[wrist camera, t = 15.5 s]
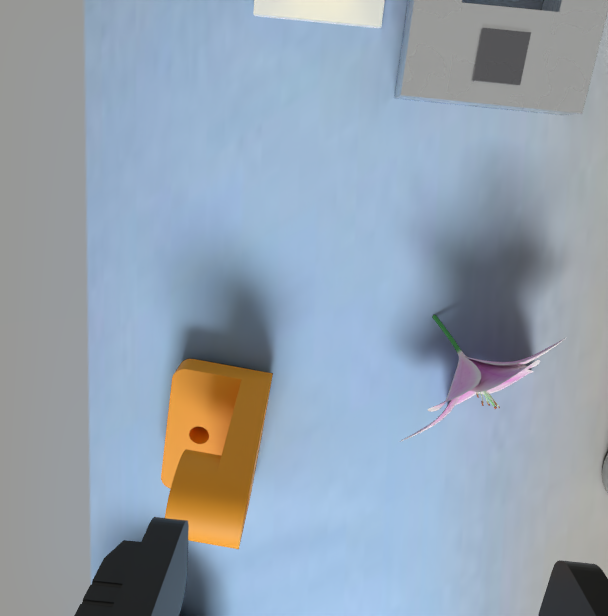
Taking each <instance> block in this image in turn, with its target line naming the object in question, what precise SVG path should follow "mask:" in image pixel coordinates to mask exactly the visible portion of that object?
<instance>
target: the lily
mask: <svg viewBox="0 0 608 616" xmlns="http://www.w3.org/2000/svg"><path fill="white" fill-rule="evenodd" d="M433 319H434V320H435V321H436V323H437V324H438V325H439V327H440V328H441V329H442V331H443V332H444V333H445V335H446V336H447V337H448V339H449V340H450V342H451V343H452V345H453V346H454V348H455V350H456V351H457V353H458V355H459V362H458V366H457V369H456V372H455V375H454V378H453V381H452V384H451V387H450V390H449V393H448V396H447V398H446V401H444V402H443V403H441V404H439V405H436V406H434V407H432V408H430V409H428V411H437V410H439V409H440V408H441V407H442V406H443V405H444V404H445V403H446V402H447V401H449V404H448V406H447V407H446V409H445V410H444V411H443V413H442V414H441V415H440V416H439V417H438V418H437V419H436V420H434V421H433V422H432V423H430V424H429V425H428V426H426V427H424V428H423V429H421V430H419V431H418V432H416V433H414V434H412V435H410V436H409V437H407V438H405V439H408V438H410V437H412V436H414V435H416V434H419V433H421V432H423V431H424V430H426V429H428V428H430V427H432V426H434V425H435V424H436V423H438V422H439V421H441V420H442V419H443V418H444V417H445V416H446V415H447V414H448V413H449V412H451V410H452V409H453V407H454V406H455V405H457V404H459V403H461V402H463V401H465V400H467V399H469V398H470V397H472V396H474V395H475V394H477V393H478V394H477V397H478V395H479V394H481V397H482V394H484V396H485V395H486V396H487V397H488V399H489V400H490V402H491V403H492V405H493V406H494V408H495V409H496V408H497V407H496V406H498V404H497V403H496V402H495V401H494V399H493V398H492V397H491V395H490V394H489V393H494V392H496V391H499V390H502V389H504V388H505V387H507V386H509V385H511V384H513V383H514V382H516V381H518V380H519V379H521V378H522V377H524V376H525V375H527V374H529V373H532V372H534V371H531V370H528V369H529V368H532V367H535V366H537V365H538V364H539V363H540V360H537V361H535V362H534V363H532V364H530V365H529V366H525V365H524V364H527V363H529V362H530V361H532V360H534V359H536V358H538V357H539V356H541V355H543V354H544V353H546V352H548V351H549V350H551V349H552V348H554V347H555V346H557V345H558V344H559V343H561V342H562V341H563V340H564V339H563V340H561V341H559V342H557V343H556V344H554V345H552V346H550V347H548V348H546V349H545V350H543V351H541V352H539V353H537V354H535V355H532V356H530V357H527V358H525V359H521V360H517V361H512V362H494V361H485V360H479V359H474V358H469V357H467V356H465V355H464V354H463V352H462V351H461V349H460V348H459V346H458V345H457V343H456V342H455V340H454V339H453V337H452V336H451V334H450V333H449V332H448V330H447V329H446V328H445V326H444V325H443V324H442V323H441V321H440V320H439V319H438V317H437V316H436V315H433ZM566 338H567V337H566ZM488 395H489V396H488ZM486 396H485V398H486ZM478 398H479V397H478ZM490 398H491V399H490ZM486 400H487V398H486ZM492 401H493V402H494V403H495V405H496V406H495V405H494V403H493V402H492ZM481 402H482V406H484V405H483V403H484V402H483V397H482V401H481ZM487 403H488V405H489V406H490V404H489V402H488V400H487ZM498 407H499V406H498ZM499 408H500V407H499ZM405 439H403V440H405ZM403 440H401V441H403Z"/></svg>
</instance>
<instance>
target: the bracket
mask: <svg viewBox="0 0 608 616" xmlns="http://www.w3.org/2000/svg"><path fill="white" fill-rule="evenodd" d="M272 375H273V373H267V372H262V371H256V370H251V369H246V368H240V367H235V366H229V365H224V364H218V363H213V362H207V361H202V360H196V359H186V360H184V361H183V362H182V363H181V364H180V365H179V367H178V369H177V370H176V372H175V373H174V375H173V377H172V385H171V394H170V403H169V411H168V420H167V429H166V438H165V447H164V456H163V465H162V474H161V480H162V482H163V484H164V485H165V486H166V487H168V488H170V489H171V490H170V494H169V498H168V503H167V508H166V514H165V518H168V519H178V520H187V521H188V525H189V531H188V540H190V541H195V542H201V543H207V544H212V545H218V546H224V547H230V548H235V549H239V546H240V541H241V537H242V532H243V528H244V523H245V519H246V514H247V510H248V505H249V500H250V496H251V491H252V485H253V480H254V474H255V469H256V463H257V458H258V453H259V448H260V442H261V437H262V431H263V426H264V420H265V415H266V409H267V404H268V397H269V392H270V386H271V381H272Z"/></svg>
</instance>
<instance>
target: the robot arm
mask: <svg viewBox="0 0 608 616" xmlns="http://www.w3.org/2000/svg"><path fill="white" fill-rule="evenodd" d="M602 478H603V484H604V487H605V490H606V491H607V493H608V454H607V456H606V458H605V461H604V465H603V470H602ZM188 531H189V525H188V521H187V520H178V519H168V518H158V517H154V518H153V519H152V520H151V522H150V524H149V526H148V529H147V531H146V533H145V535H144V537H143V540H142V542H135V541H125V540H124V541H123V542H121V543H120V544H119V545H118V546H117V547H116V548H115V549H114V550H113V551H112V552H111V553H109V554H108V555H107V556H106V557H105V558H104V560H103V562H102V564H101V566H100V567H99V569H98V571H97V573H96V575H95V577H94V579H93V582H92V585H90V587H89V589H88V591H87V593H86V594H85V596H84V598H83V602H82V604H80V606H79V608H78V610H77V612H76V614H75V616H179V614H180V611H181V607H182V604H183V599H184V594H185V589H186V582H187V565H188ZM539 616H608V579H607V577H606V576H605V574H604V572H603V571H602V570H601V568H600V567H599V566H597V565H595V564H589V563H579V562H569V561H557V562H556V563H555V565H554V567H553V570H552V573H551V576H550V580H549V583H548V586H547V589H546V592H545V595H544V598H543V602H542V605H541V608H540V611H539Z"/></svg>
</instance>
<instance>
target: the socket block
mask: <svg viewBox="0 0 608 616" xmlns="http://www.w3.org/2000/svg"><path fill="white" fill-rule="evenodd" d="M607 13H608V0H544V1H543V5H542V10H533V9H523V8H513V7H503V6H493V5H483V4H473V3H462V0H408V4H407V12H406V19H405V26H404V33H403V40H402V47H401V54H400V62H399V69H398V76H397V83H396V90H395V97H394V98H395V99H405V100H415V101H425V102H435V103H445V104H455V105H465V106H475V107H485V108H495V109H505V110H515V111H525V112H535V113H545V114H555V115H569V114H582V112H583V108H584V104H585V100H586V96H587V92H588V88H589V84H590V80H591V76H592V72H593V68H594V64H595V60H596V56H597V52H598V48H599V45H600V41H601V37H602V33H603V29H604V25H605V21H606V17H607Z"/></svg>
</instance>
